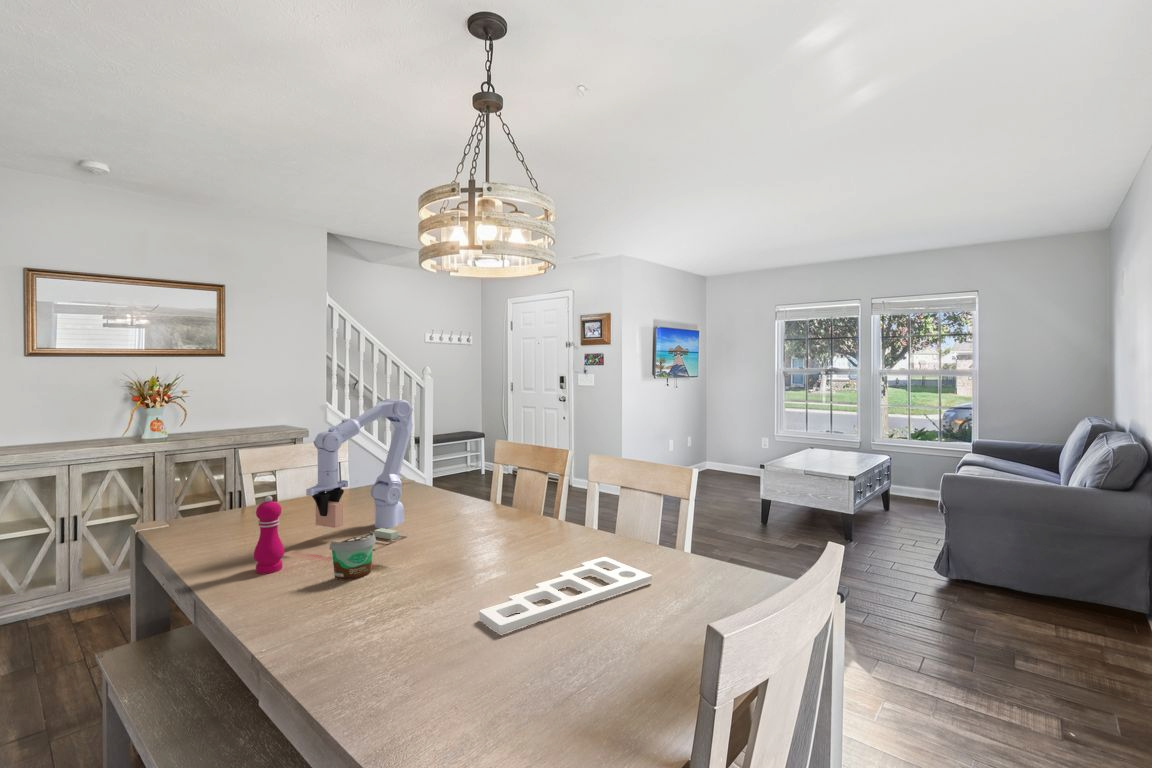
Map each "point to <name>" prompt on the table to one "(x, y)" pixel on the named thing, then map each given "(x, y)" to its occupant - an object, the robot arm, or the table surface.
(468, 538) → the table surface
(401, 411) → the robot arm
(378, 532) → the upper offcut
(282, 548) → the pepper mill
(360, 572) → the food container
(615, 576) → the holder
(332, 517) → the pink rectangular prism
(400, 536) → the rack
